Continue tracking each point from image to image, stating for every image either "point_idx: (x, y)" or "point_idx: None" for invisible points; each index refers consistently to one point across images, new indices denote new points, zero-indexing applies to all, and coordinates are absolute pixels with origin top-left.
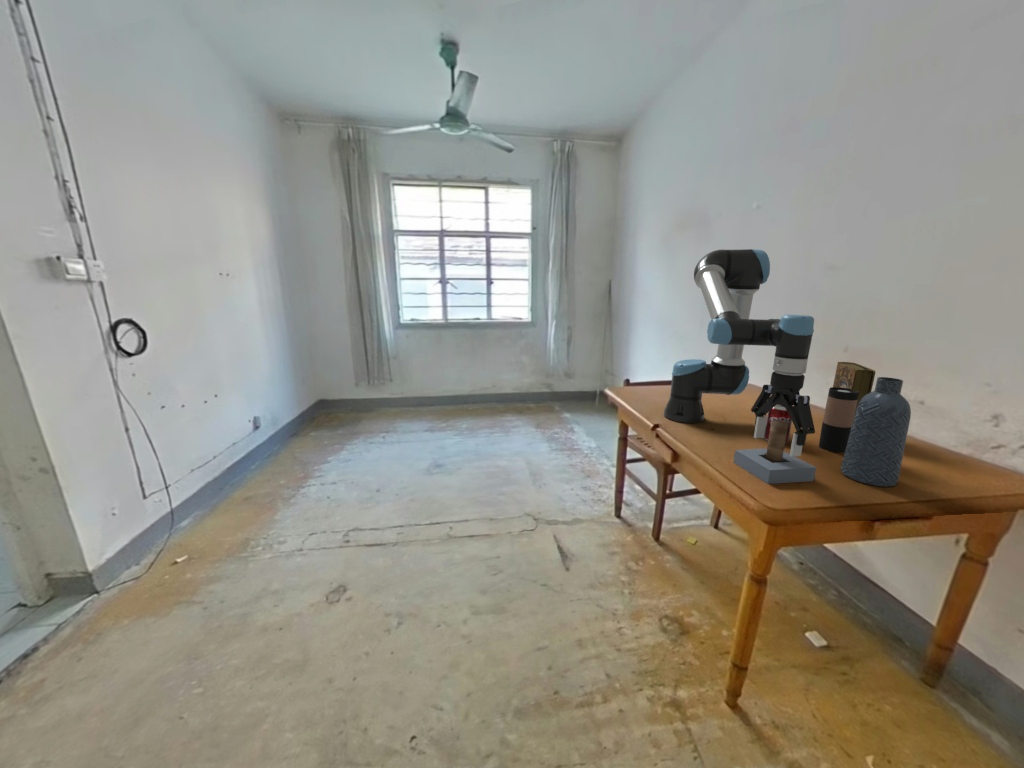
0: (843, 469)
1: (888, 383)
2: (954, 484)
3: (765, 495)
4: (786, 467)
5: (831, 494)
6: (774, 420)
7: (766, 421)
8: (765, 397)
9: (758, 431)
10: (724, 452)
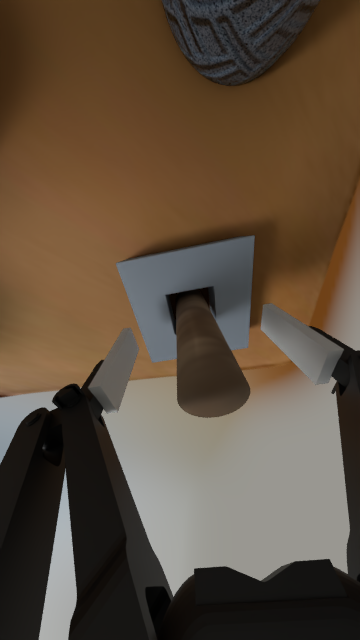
0: (217, 68)
1: None
2: None
3: (267, 350)
4: (242, 313)
5: (296, 241)
6: (194, 407)
7: None
8: (13, 623)
9: (131, 358)
10: (108, 341)
